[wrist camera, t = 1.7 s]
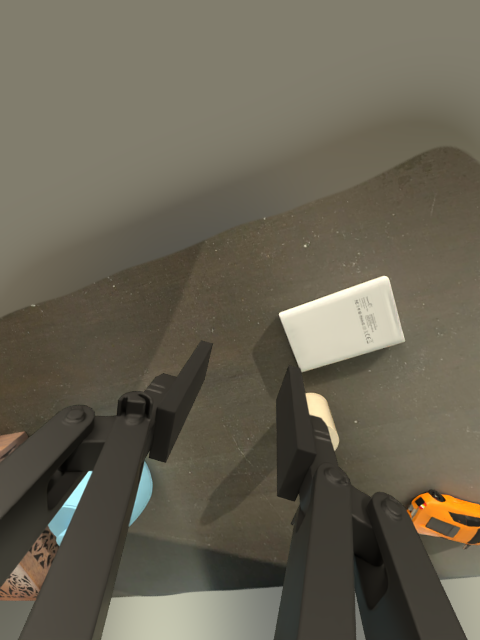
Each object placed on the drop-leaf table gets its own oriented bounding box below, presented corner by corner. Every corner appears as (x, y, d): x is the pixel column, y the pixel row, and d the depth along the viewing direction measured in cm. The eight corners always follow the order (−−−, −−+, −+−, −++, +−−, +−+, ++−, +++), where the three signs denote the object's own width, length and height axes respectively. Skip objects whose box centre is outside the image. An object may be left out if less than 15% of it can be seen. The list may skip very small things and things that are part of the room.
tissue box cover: (89, 534, 52) (48, 600, 43) (32, 537, 55) (-18, 600, 46) (25, 431, 45) (-41, 484, 35) (-37, 441, 48) (-114, 493, 38)
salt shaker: (305, 386, 35) (313, 427, 28) (336, 403, 35) (352, 449, 28) (285, 411, 37) (287, 456, 30) (315, 428, 37) (325, 476, 30)
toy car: (423, 546, 42) (435, 570, 39) (391, 496, 39) (401, 518, 36) (506, 526, 39) (525, 551, 36) (477, 470, 36) (495, 492, 33)
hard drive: (278, 311, 32) (383, 274, 29) (300, 367, 34) (399, 338, 31) (279, 315, 31) (389, 277, 28) (301, 373, 33) (406, 343, 30)
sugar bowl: (66, 475, 47) (4, 549, 36) (88, 419, 42) (23, 485, 31) (140, 512, 48) (100, 595, 37) (170, 461, 43) (135, 540, 32)
